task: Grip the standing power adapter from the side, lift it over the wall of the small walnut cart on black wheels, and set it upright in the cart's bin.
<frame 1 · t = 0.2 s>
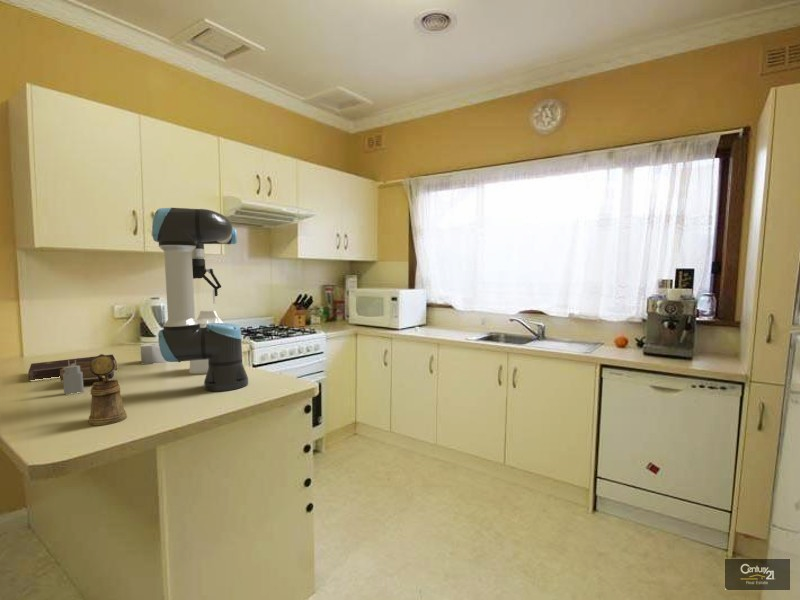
hand: (198, 304, 194), 28 cm above the countertop, tool pointing down, fingers open, 13 cm apart
brown wooden tray: (75, 373, 181), on the countertop
brown bell-shaped piece: (107, 418, 121), on the countertop
cart: (89, 373, 163), point 4 cm above the countertop, slide at 0.0 cm
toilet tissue: (155, 362, 200), on the countertop
milk: (210, 370, 181), on the countertop
power adapter: (74, 393, 148), on the countertop
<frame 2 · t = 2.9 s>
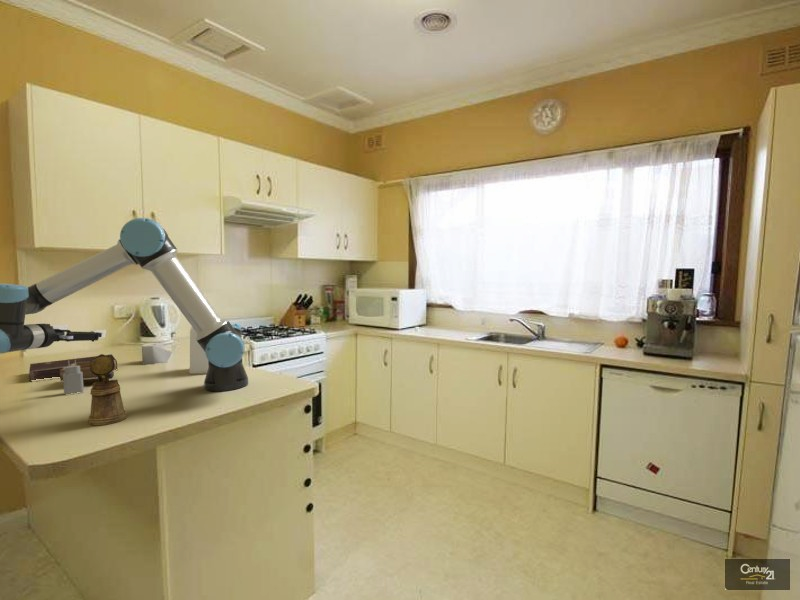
hand: (85, 331, 148), 22 cm above the countertop, tool horizontal, fingers open, 13 cm apart
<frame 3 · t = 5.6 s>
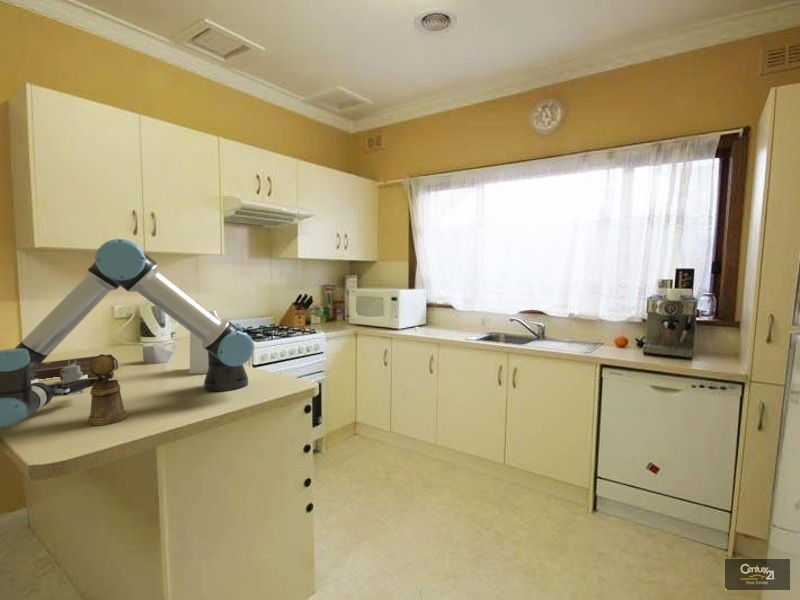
hand: (62, 380, 140), 6 cm above the countertop, tool horizontal, fingers open, 13 cm apart
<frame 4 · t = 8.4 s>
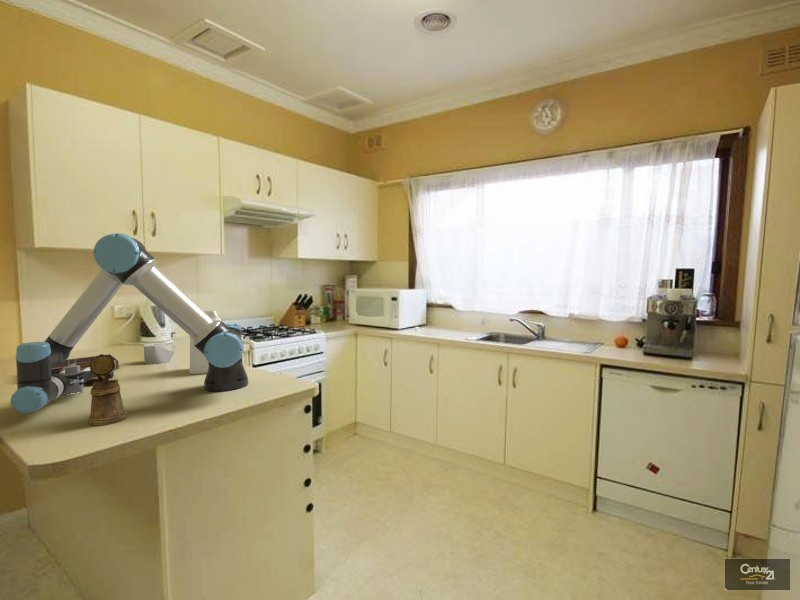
hand: (78, 371, 153), 7 cm above the countertop, tool horizontal, fingers closed on power adapter, 6 cm apart
power adapter: (74, 393, 148), on the countertop, touching gripper
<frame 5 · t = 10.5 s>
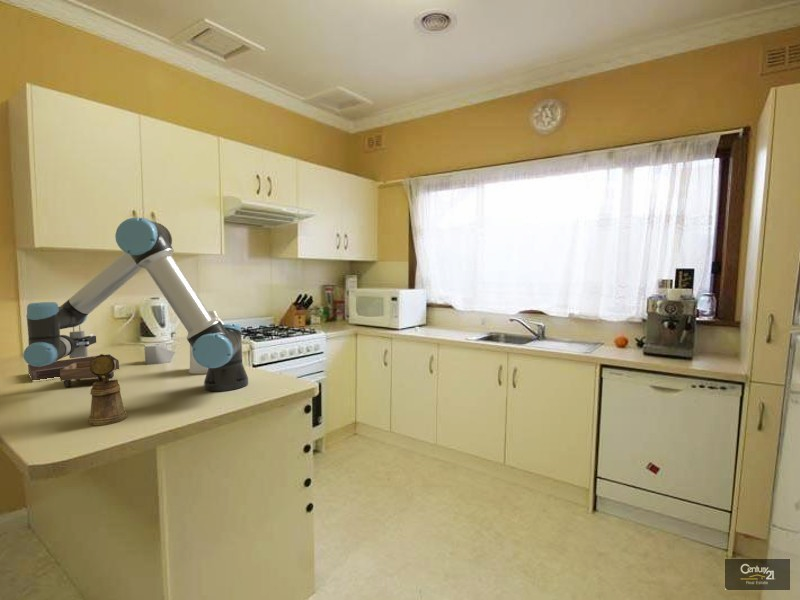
hand: (82, 337, 160), 18 cm above the countertop, tool horizontal, fingers closed on power adapter, 6 cm apart
power adapter: (78, 357, 156), point 11 cm above the countertop, touching gripper
when the fingers open (12 cm above the countertop, at t = 12.6 s): power adapter drops 1 cm, resting on cart.
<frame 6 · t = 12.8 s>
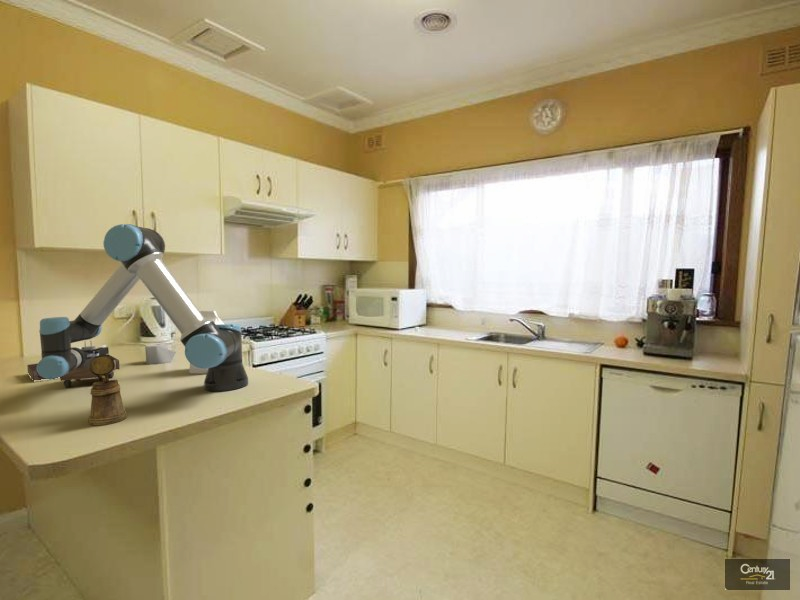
hand: (92, 348, 167), 12 cm above the countertop, tool horizontal, fingers open, 8 cm apart
cart: (89, 373, 163), point 4 cm above the countertop, slide at 0.0 cm, touching power adapter
power adapter: (90, 371, 163), point 4 cm above the countertop, touching cart
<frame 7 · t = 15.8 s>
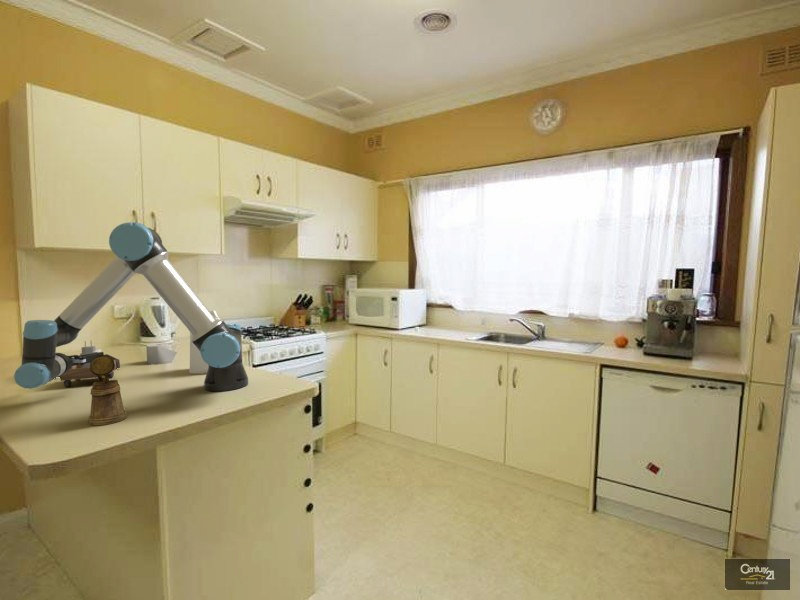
hand: (78, 354, 153), 13 cm above the countertop, tool horizontal, fingers open, 13 cm apart
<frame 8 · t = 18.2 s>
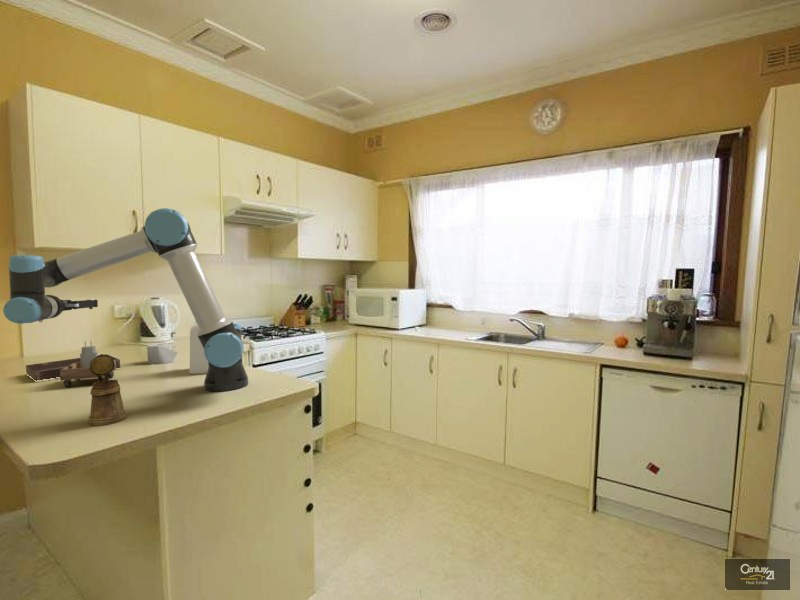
hand: (71, 303, 149), 32 cm above the countertop, tool horizontal, fingers open, 13 cm apart
at the end: power adapter inside the target area on the cart (0.1 cm from its centre), point 4.3 cm above the cart's base; power adapter tilted 0°; the gripper is holding nothing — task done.
